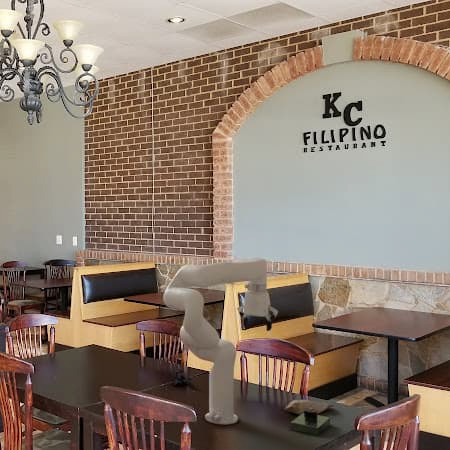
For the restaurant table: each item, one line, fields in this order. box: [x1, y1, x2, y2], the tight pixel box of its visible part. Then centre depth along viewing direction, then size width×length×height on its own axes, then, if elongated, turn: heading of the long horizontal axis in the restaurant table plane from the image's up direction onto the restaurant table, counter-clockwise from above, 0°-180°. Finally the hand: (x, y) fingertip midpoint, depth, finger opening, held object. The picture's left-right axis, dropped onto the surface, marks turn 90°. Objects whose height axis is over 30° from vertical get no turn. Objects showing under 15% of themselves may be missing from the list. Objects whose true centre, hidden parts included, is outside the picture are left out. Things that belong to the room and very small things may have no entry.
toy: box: [172, 368, 192, 387], centre depth 293 cm, size 6×8×15 cm
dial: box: [304, 408, 318, 422], centre depth 233 cm, size 5×5×4 cm
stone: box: [284, 399, 335, 415], centre depth 252 cm, size 21×6×10 cm
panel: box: [290, 413, 331, 437], centre depth 233 cm, size 14×10×3 cm
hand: (257, 329), depth 256 cm, fingers open, 9 cm apart
